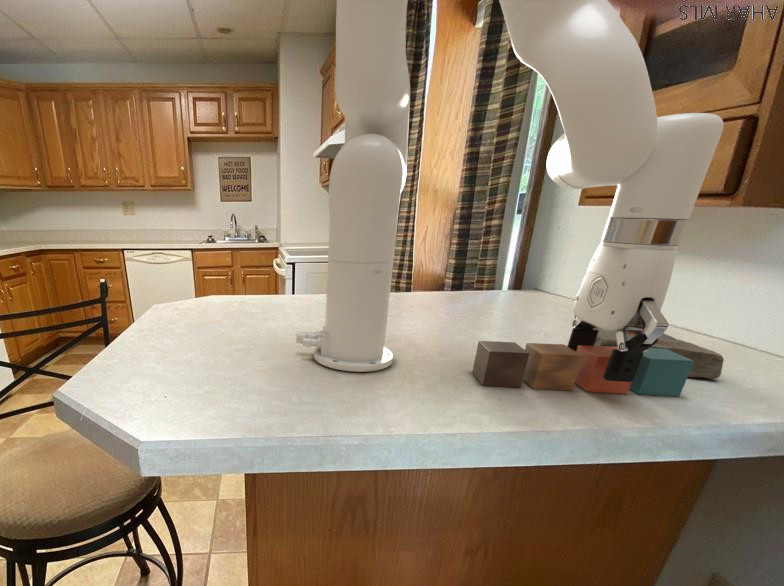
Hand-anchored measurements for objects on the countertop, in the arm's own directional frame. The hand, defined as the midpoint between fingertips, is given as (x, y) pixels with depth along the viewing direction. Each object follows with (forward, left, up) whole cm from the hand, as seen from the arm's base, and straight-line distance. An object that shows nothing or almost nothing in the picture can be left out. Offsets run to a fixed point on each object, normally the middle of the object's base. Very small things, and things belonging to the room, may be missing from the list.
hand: (595, 367), depth 58 cm
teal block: (+7, 0, -3) cm, 8 cm away
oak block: (-6, 0, -3) cm, 7 cm away
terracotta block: (+1, 0, -3) cm, 3 cm away
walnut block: (-12, 0, -3) cm, 13 cm away
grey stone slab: (+13, +13, -3) cm, 18 cm away
